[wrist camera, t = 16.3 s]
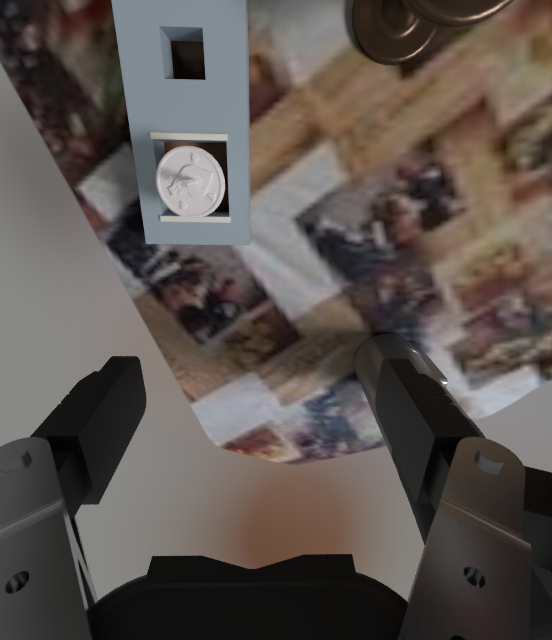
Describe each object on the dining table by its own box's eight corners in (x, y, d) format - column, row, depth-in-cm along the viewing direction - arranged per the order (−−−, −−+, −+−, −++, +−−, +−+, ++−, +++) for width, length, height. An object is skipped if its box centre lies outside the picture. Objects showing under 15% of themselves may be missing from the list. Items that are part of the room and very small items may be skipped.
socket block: (247, -8, 33) (245, -31, 29) (250, 238, 43) (249, 245, 39) (124, -12, 33) (104, -37, 29) (156, 237, 43) (145, 244, 39)
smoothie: (242, 195, 41) (230, 209, 28) (195, 216, 42) (162, 237, 29) (219, 140, 38) (195, 127, 25) (170, 163, 39) (122, 161, 26)
